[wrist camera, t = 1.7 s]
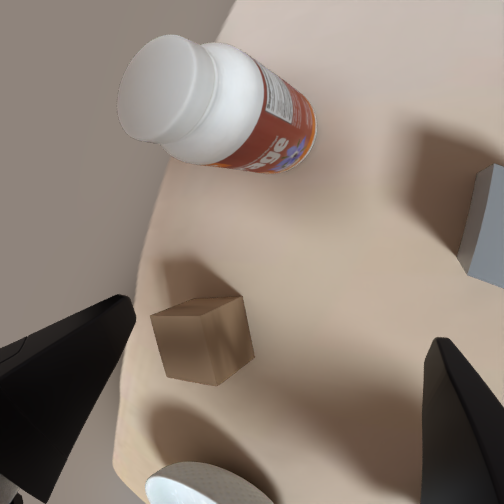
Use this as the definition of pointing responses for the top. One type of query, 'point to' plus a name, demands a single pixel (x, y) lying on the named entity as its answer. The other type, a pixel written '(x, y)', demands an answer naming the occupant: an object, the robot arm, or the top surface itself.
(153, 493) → the cereal bowl
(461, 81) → the top surface
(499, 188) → the slate-grey cube
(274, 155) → the pill bottle
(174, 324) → the walnut cube
